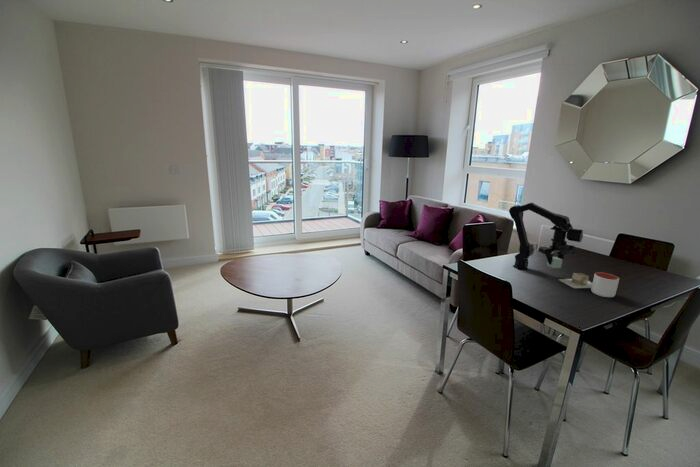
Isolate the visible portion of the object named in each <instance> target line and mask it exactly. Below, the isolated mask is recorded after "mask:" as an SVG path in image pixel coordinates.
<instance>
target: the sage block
mask: <svg viewBox="0 0 700 467" xmlns="http://www.w3.org/2000/svg"><path fill="white" fill-rule="evenodd" d="M562 264H563V260H562V259H560V258H558V257H557V256H553V258H552V263H551V265H550V264H549V263H548V260H547V261H546V266H548V267H550V268H552V269H561V268H562Z"/></svg>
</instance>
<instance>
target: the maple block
mask: <svg viewBox="0 0 700 467" xmlns="http://www.w3.org/2000/svg"><path fill="white" fill-rule="evenodd" d="M589 277H590V276H588V275H587V274H585V273H582V272H573V273H572V277H571V279H572V281H571V282H573V283H575V284H577V285H587V282H588V281H589Z"/></svg>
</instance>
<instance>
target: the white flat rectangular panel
mask: <svg viewBox="0 0 700 467" xmlns="http://www.w3.org/2000/svg"><path fill="white" fill-rule="evenodd" d="M557 280H558V281H559V282H561V283H564V284H566V285H567V286H569V287H571V288H573V289H591V287H592V283H593V282H591V281H590V280H588V282H587V285H577V284H575V283H573V282H571V281H572V278H560V279H557Z"/></svg>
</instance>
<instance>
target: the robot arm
mask: <svg viewBox="0 0 700 467" xmlns="http://www.w3.org/2000/svg"><path fill="white" fill-rule="evenodd" d="M526 211H527V212H528V211H531V212H533V213H535V214H537V215H539V216H541V217H543V218H545V219H547V220H549V221H550V222H551V223H552V225H553V227H550V230H554V232H553V237H552V238H551V239H550V241H552V243H551V245H549V247H547V246H539V248H538V253H541V254H544V255H545V257H546V259H547V261H548V263H549V264H550V265H551V263H552V258H553V257H555V254H554V253H557V256H556V257H558V258H560V259H562V261H563V260H564V258H566V257H567V256H570V255H572V254H573V255H574V254H576V246H575V245H567V241H569V242H570V241H571V242H576V243H582V241H583V239H584V232H583V231H584V229H576V228H574V227H573V226H572V224H571V220H570V218H569V216H568V215H564V214H560V213H555V212H552V211H550V210H548V209H546V208H544V207H542V206H540V205H537V204H536V203H534V202H529V203H527V204H523V205H519V204H518V205H513V206H511V207H510V208H509V209H508V213H509V215H510V217H511V219H512V220H513V222H514V224H515V229H516V233H517V237H518V241H519V250H518V251H519V253H517V254H515V255H514V259H515V260H514V261H515V262H514V264H512V267H513V266H514V268H515V269H517V270H519V271H520V270H521V271H522V270H523V271H524V270H527V271H528V270H529V268H528V265H529V258H530V257H531V256H533V255H534V252H535V249H534V244H532V243H531V244H530V242H529V240H528V235H527V232H526V226H525V223H524V212H526ZM566 239H567V241H566Z"/></svg>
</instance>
